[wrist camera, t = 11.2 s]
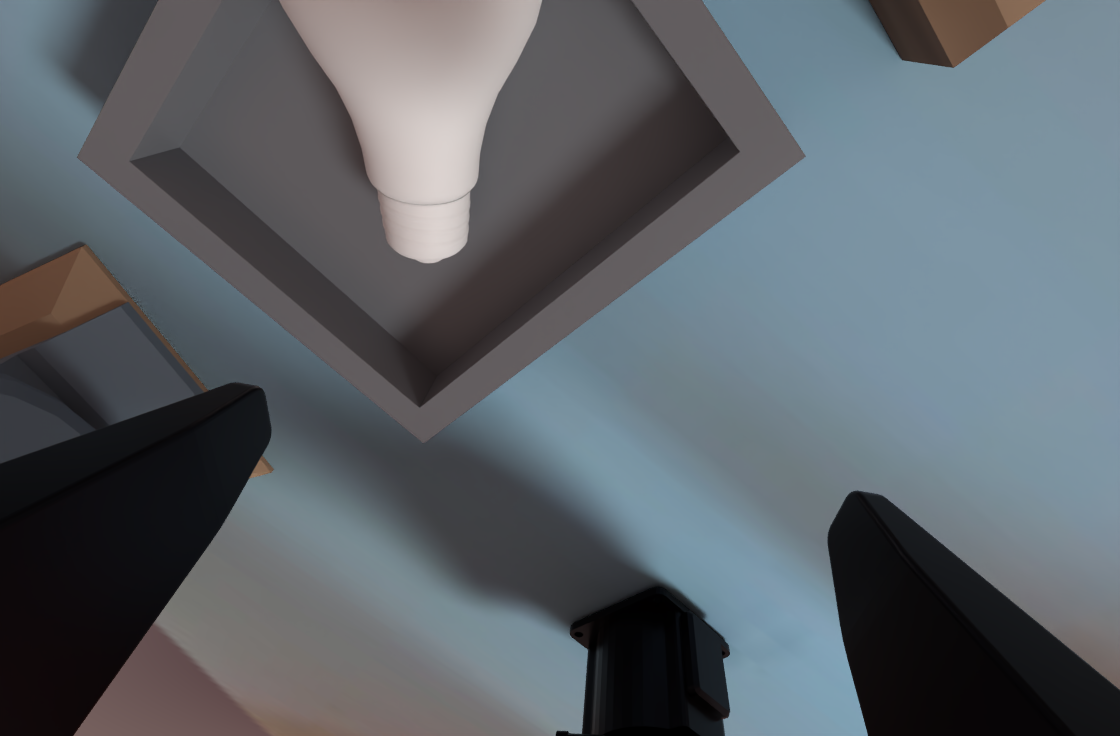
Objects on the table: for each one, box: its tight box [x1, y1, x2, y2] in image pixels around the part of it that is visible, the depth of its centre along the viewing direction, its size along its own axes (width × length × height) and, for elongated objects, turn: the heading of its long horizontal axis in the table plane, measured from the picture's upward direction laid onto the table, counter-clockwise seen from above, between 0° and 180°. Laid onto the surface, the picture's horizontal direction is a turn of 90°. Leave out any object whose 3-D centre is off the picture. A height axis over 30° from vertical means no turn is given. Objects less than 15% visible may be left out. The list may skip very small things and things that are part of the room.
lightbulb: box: [279, 0, 542, 263], centre depth 14 cm, size 6×6×11 cm
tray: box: [77, 0, 806, 443], centre depth 17 cm, size 16×14×3 cm
